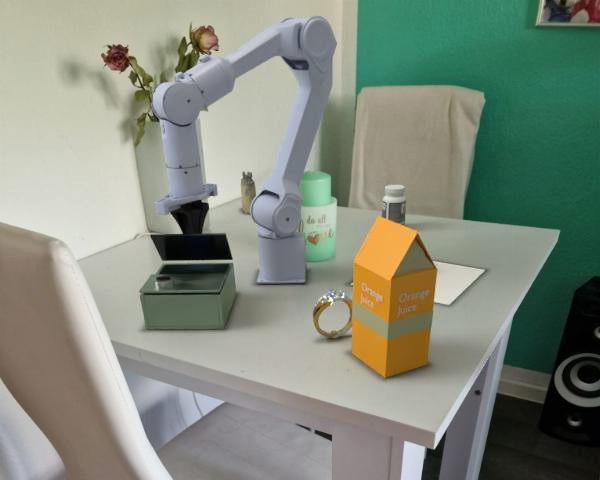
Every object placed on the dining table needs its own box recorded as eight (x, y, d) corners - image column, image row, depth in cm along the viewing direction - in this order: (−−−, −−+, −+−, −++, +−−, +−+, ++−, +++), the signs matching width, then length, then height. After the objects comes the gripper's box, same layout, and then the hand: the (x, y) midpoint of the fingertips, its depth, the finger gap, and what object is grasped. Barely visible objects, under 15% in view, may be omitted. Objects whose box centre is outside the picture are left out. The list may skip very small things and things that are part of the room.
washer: (167, 294, 106) (162, 259, 103) (236, 293, 106) (232, 258, 102) (146, 329, 94) (138, 291, 90) (223, 329, 93) (219, 290, 89)
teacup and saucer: (440, 269, 113) (442, 250, 111) (425, 282, 107) (427, 262, 105) (400, 262, 117) (402, 243, 115) (384, 274, 112) (385, 254, 109)
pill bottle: (408, 227, 138) (411, 185, 133) (398, 233, 134) (401, 190, 129) (386, 224, 141) (389, 183, 136) (377, 230, 137) (379, 188, 132)
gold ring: (352, 330, 91) (353, 284, 87) (358, 339, 89) (359, 292, 84) (310, 336, 90) (309, 289, 86) (315, 344, 87) (315, 297, 83)
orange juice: (392, 340, 88) (400, 211, 77) (428, 364, 81) (443, 226, 70) (350, 353, 85) (353, 220, 74) (384, 378, 78) (393, 237, 67)
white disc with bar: (215, 282, 93) (214, 273, 92) (212, 290, 90) (211, 280, 89) (157, 283, 94) (156, 273, 93) (152, 290, 91) (150, 280, 90)
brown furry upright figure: (258, 213, 153) (255, 175, 148) (244, 214, 152) (241, 176, 147) (253, 207, 159) (250, 169, 153) (240, 208, 158) (237, 171, 153)
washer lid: (162, 260, 103) (162, 259, 103) (232, 260, 102) (232, 258, 102) (150, 236, 96) (150, 234, 96) (225, 235, 95) (225, 233, 95)
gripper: (174, 175, 86) (186, 261, 93) (228, 158, 96) (235, 237, 104) (139, 172, 89) (154, 255, 96) (195, 156, 99) (204, 232, 107)
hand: (194, 245), depth 100 cm, fingers closed
